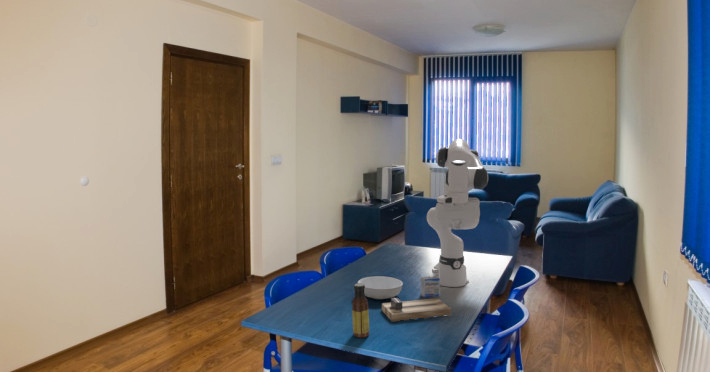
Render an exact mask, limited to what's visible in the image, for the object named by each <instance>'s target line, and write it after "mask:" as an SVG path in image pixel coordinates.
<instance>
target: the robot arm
mask: <svg viewBox="0 0 710 372" xmlns="http://www.w3.org/2000/svg"><path fill="white" fill-rule="evenodd" d="M435 156H436V157H435V160H436V163H437V166H438V167H440V168H446V169H447V170H446V171H445V179H444V186H443V194H442V195H440V196H437V198H436V202H437V203H436V205H435V207H431V208H430V209H429V210H428V211H427V213H426V221H427V223H428V225H429V226H430V227H431V228H432V229H433V230H435V232H436V233H437V235H438V238H439V241H440V254H439V258H438V263H436V264H435V265H434V266H433V268H432V270H431V274H428V277H432V276H437V277H438V278H440V286H442V287H446V288H447V287H449V288H460V287H465V286H466V285H467V284H469V282H470V280H469V279H468V278H467V266H466V265H465V256H464V241H463V239H462V238H461V237H459V236H458V235H456V234H454V233H453V231H452V230H471V229H472V230H473V229H475V228H476V227H477V226H478V224H479V223H480V216H481V210H480V205H481V204H480V203H481V202H480V199H479V198H478V197H469V190H470V189H473V190H474V189H475V190H483V189H484V188H486V187H487V186H488V182H489V173H488V171H487V169H486V168H485V167H484V166H483V163H482V161H481V159H480V156H479V152H478V150H475V149H470V146H469V144H468V142H467V141H466V140H465V139H462V138H457V139H454V140H453V141H452V142H451V143H450V145H449V146H448V147H447V146H444V147H441V148H439V149H438V151H437V152H436V155H435Z"/></svg>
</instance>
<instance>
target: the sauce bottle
mask: <svg viewBox="0 0 710 372" xmlns="http://www.w3.org/2000/svg"><path fill="white" fill-rule="evenodd" d="M364 288H365V285H364V284H362V283H358V282H357V283H355V284H353V289H354V297H353V298H352V301H351V306H352V307H351V312H352V313H351V314H352V316H351V317H352V318H351V319H352V334H353V336H354V337H355V338H367V337H368V336H370V317H369V315H370V313H369V300H368V299H367V296H365V294H364Z"/></svg>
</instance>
